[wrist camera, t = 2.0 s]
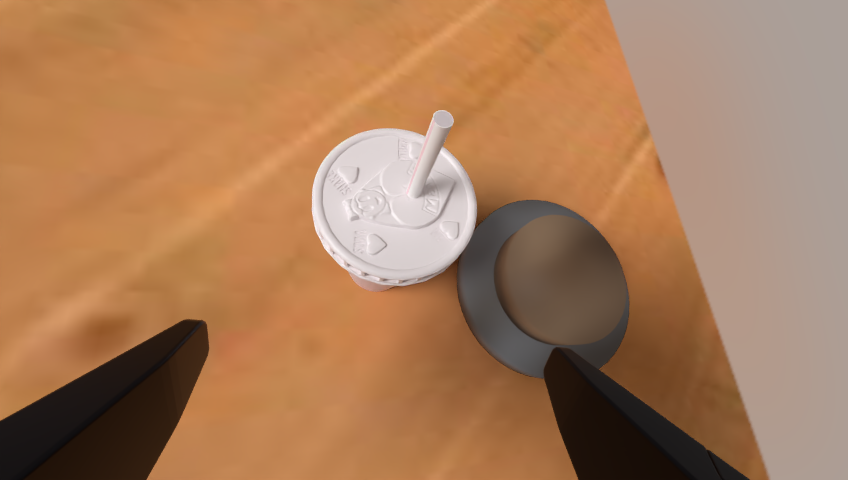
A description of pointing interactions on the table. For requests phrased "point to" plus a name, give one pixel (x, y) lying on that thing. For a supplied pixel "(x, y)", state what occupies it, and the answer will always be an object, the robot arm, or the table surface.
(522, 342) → the pedestal
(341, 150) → the white drink cup
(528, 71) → the table surface
